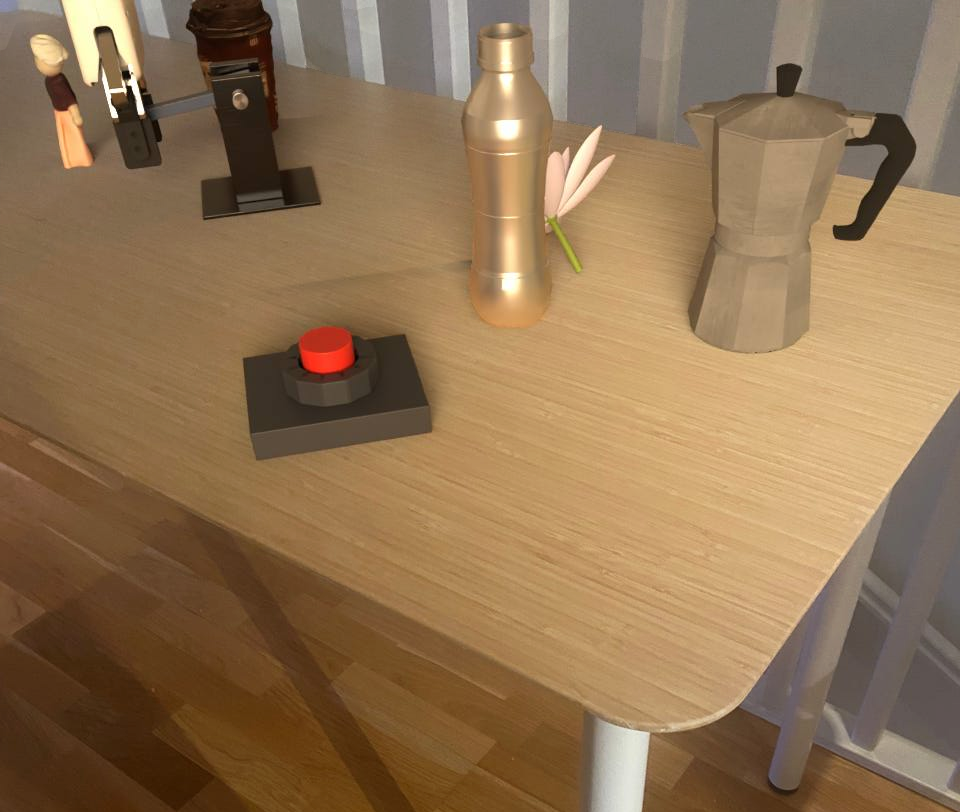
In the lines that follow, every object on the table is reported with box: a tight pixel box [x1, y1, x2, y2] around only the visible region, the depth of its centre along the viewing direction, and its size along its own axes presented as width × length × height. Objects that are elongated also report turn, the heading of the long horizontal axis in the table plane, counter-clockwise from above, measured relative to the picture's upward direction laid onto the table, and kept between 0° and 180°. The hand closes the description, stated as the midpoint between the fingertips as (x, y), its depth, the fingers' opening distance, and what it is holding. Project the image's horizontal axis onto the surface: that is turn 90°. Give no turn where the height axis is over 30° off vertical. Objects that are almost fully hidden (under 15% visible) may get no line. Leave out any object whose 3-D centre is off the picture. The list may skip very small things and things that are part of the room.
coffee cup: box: [185, 0, 280, 134], centre depth 103 cm, size 9×8×13 cm
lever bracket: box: [200, 58, 322, 221], centre depth 91 cm, size 11×9×12 cm
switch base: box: [242, 333, 433, 462], centre depth 69 cm, size 12×10×4 cm
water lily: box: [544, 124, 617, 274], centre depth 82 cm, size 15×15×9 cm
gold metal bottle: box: [460, 22, 554, 328], centre depth 71 cm, size 6×7×20 cm
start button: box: [298, 326, 355, 375], centre depth 67 cm, size 4×4×2 cm
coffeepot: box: [681, 62, 918, 354], centre depth 69 cm, size 15×9×18 cm, turn 67°
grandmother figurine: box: [29, 33, 94, 170], centre depth 99 cm, size 8×4×13 cm, turn 43°
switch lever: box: [144, 69, 250, 121], centre depth 88 cm, size 12×5×2 cm, turn 102°
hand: (144, 152), depth 90 cm, fingers closed on switch lever, 5 cm apart
